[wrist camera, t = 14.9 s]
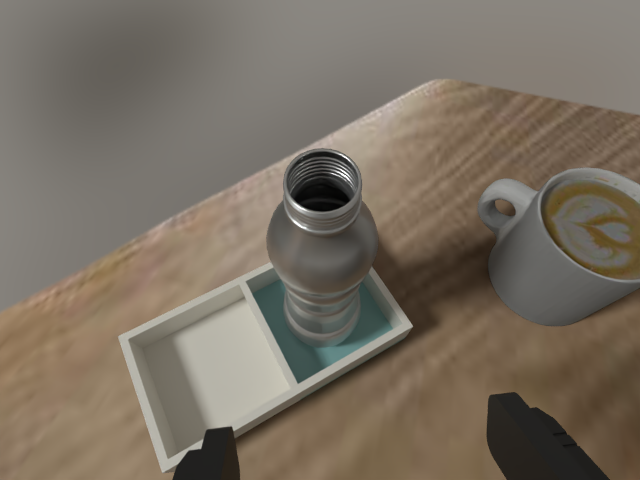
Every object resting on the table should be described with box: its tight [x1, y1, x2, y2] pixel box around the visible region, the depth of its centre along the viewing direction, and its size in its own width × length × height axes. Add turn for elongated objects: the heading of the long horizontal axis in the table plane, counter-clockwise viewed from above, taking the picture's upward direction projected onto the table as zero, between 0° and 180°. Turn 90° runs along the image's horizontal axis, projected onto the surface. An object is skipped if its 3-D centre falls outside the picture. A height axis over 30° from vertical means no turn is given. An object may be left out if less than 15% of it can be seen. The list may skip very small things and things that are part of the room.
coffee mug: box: [478, 168, 640, 326], centre depth 35 cm, size 13×10×10 cm
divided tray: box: [118, 262, 413, 473], centre depth 34 cm, size 21×11×4 cm, turn 119°
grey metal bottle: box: [266, 148, 378, 348], centre depth 27 cm, size 6×7×20 cm
